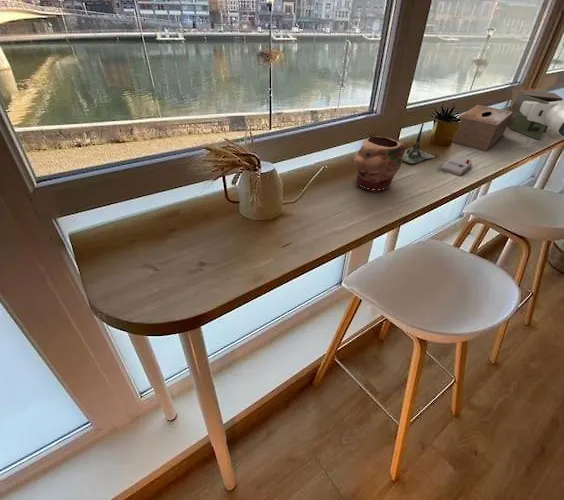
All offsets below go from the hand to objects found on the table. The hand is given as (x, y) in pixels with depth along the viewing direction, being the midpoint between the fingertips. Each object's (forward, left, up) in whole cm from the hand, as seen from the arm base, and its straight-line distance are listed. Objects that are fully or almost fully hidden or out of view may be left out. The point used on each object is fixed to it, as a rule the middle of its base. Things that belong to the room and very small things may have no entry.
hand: (545, 104), depth 130 cm
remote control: (+45, +27, -15) cm, 55 cm away
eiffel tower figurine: (+58, +17, -15) cm, 62 cm away
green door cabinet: (-12, -19, -15) cm, 27 cm away
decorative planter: (+79, +39, -15) cm, 89 cm away
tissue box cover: (+21, -3, -15) cm, 26 cm away
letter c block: (-2, -8, -15) cm, 17 cm away
